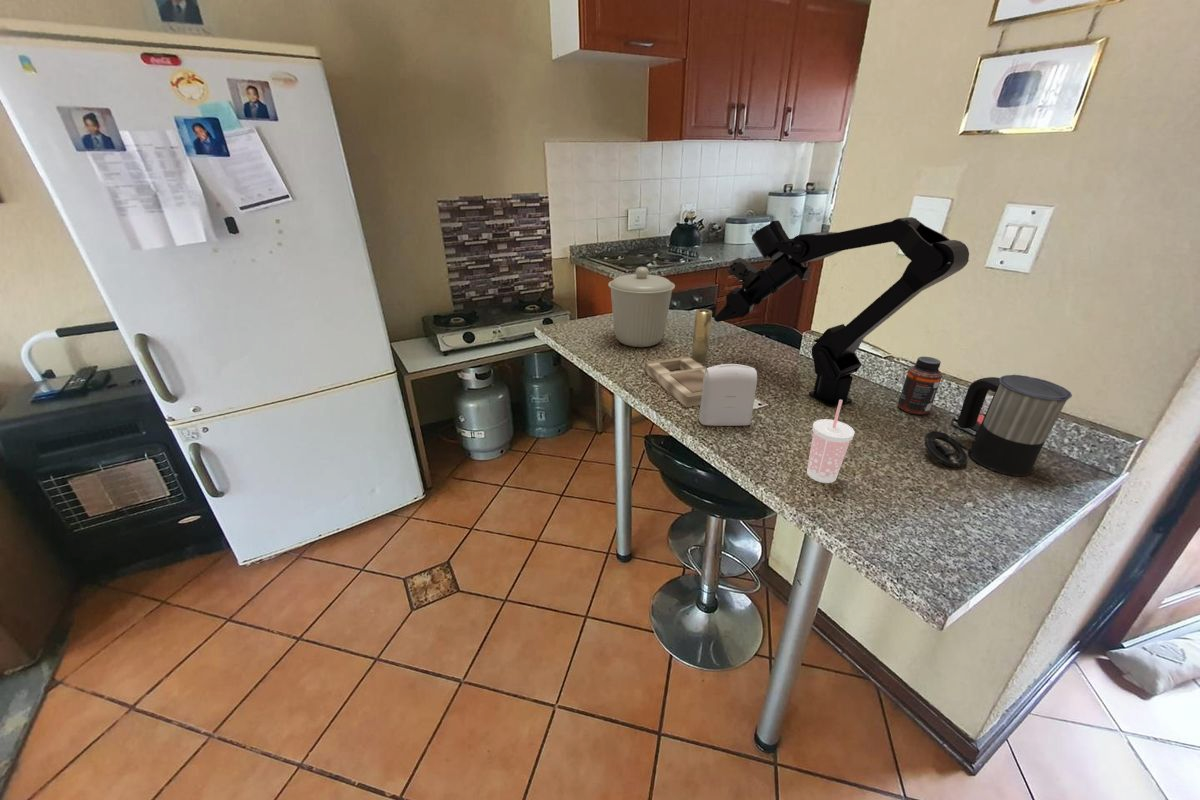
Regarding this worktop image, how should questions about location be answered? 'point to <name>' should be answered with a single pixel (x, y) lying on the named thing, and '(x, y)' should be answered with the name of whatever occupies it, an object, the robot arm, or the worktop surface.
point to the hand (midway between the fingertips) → (721, 315)
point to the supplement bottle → (920, 386)
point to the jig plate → (679, 378)
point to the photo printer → (728, 395)
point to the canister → (640, 307)
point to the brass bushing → (701, 335)
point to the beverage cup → (828, 448)
